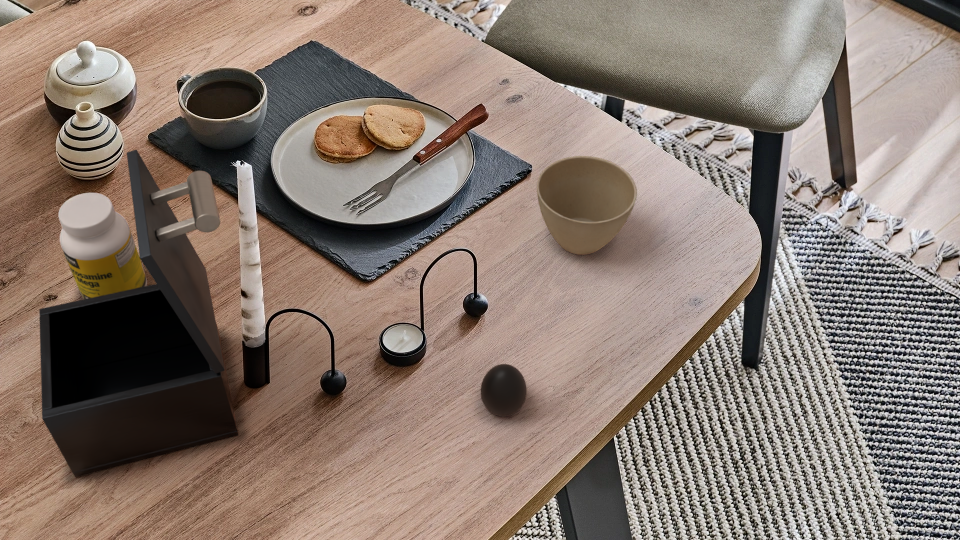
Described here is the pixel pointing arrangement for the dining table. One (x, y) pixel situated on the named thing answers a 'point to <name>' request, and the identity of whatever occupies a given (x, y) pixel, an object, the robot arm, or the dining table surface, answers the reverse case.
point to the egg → (503, 390)
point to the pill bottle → (99, 246)
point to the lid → (178, 249)
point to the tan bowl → (585, 201)
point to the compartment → (127, 382)
